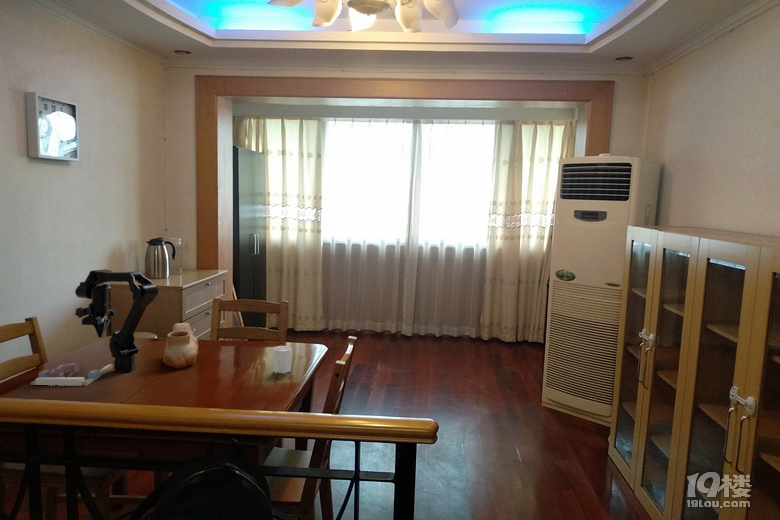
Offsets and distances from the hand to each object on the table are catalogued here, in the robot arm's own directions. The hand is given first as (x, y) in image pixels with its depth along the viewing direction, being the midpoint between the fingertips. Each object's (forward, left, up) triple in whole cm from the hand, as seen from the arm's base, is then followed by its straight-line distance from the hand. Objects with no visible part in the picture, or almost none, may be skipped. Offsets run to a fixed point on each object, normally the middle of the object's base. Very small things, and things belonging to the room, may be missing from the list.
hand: (100, 337), depth 210 cm
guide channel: (+4, +13, -12) cm, 18 cm away
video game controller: (+6, +16, -12) cm, 21 cm away
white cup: (-75, +8, -12) cm, 76 cm away
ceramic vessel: (-30, -8, -12) cm, 33 cm away
